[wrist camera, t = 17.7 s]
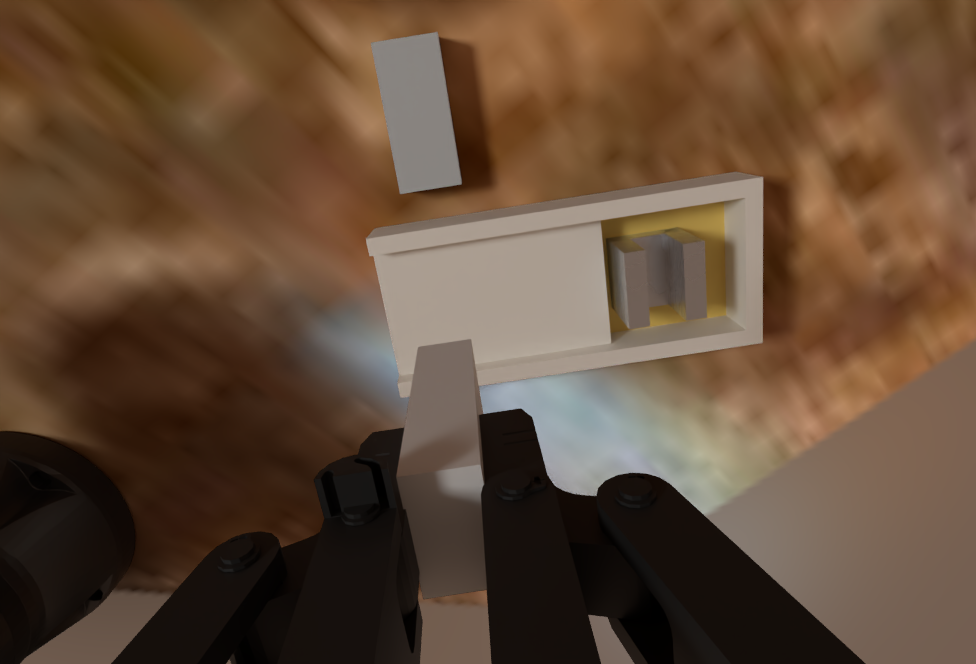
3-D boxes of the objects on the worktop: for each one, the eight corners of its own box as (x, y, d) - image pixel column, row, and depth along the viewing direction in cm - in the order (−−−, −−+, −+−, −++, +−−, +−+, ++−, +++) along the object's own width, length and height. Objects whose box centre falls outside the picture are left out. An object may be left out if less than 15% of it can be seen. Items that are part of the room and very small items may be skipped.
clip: (611, 306, 39) (629, 329, 35) (605, 238, 38) (623, 253, 33) (680, 296, 39) (707, 317, 35) (677, 227, 37) (704, 240, 33)
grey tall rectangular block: (403, 190, 37) (400, 193, 35) (376, 47, 34) (370, 42, 32) (461, 181, 37) (461, 184, 35) (439, 37, 34) (437, 31, 32)
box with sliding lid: (405, 374, 41) (400, 397, 37) (374, 228, 37) (365, 239, 34) (737, 324, 40) (762, 342, 37) (735, 171, 37) (763, 176, 34)
